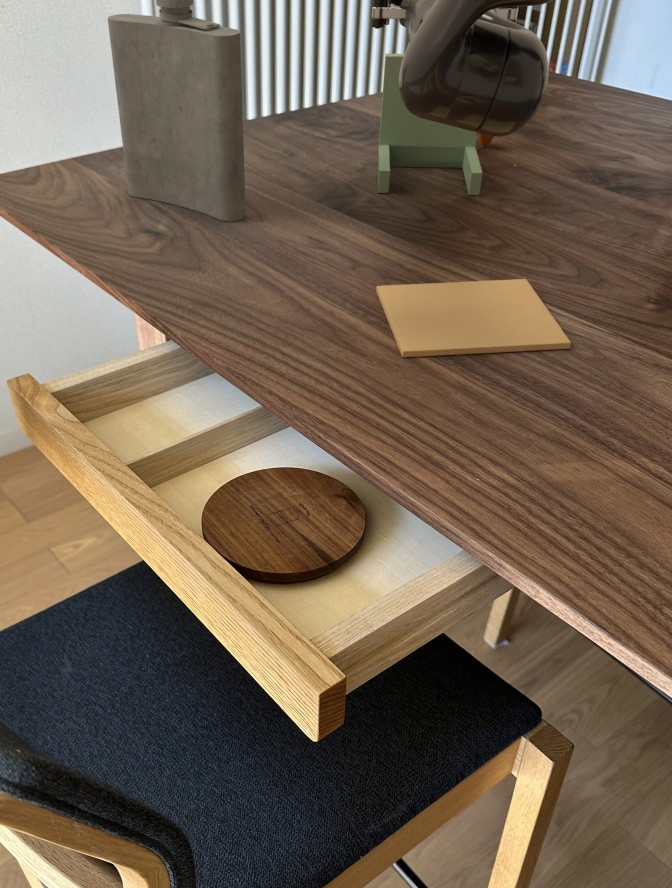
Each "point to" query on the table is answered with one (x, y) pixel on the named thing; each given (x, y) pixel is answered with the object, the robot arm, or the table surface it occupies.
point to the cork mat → (469, 318)
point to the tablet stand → (420, 137)
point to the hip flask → (181, 109)
